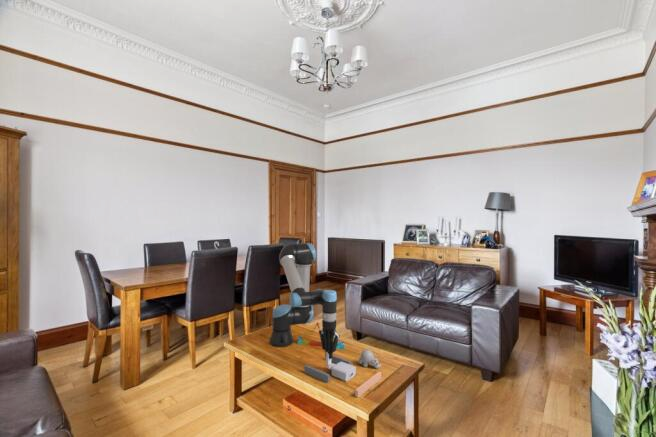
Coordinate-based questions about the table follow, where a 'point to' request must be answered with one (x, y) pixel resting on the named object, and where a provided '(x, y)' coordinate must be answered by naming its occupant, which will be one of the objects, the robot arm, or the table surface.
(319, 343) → the chart
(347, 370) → the charger
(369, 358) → the chubby cartoon animal
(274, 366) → the table surface
